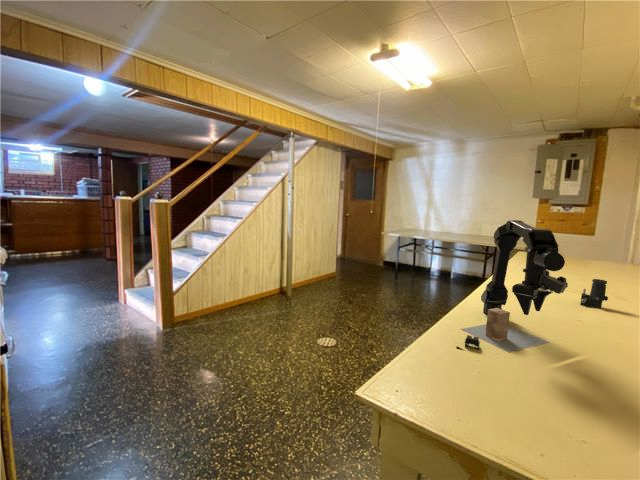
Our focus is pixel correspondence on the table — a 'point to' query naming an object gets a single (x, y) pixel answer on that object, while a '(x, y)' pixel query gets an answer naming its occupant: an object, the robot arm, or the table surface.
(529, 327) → the table surface
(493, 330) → the walnut post
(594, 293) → the scope
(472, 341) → the black mounting bracket
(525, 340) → the slate mat
